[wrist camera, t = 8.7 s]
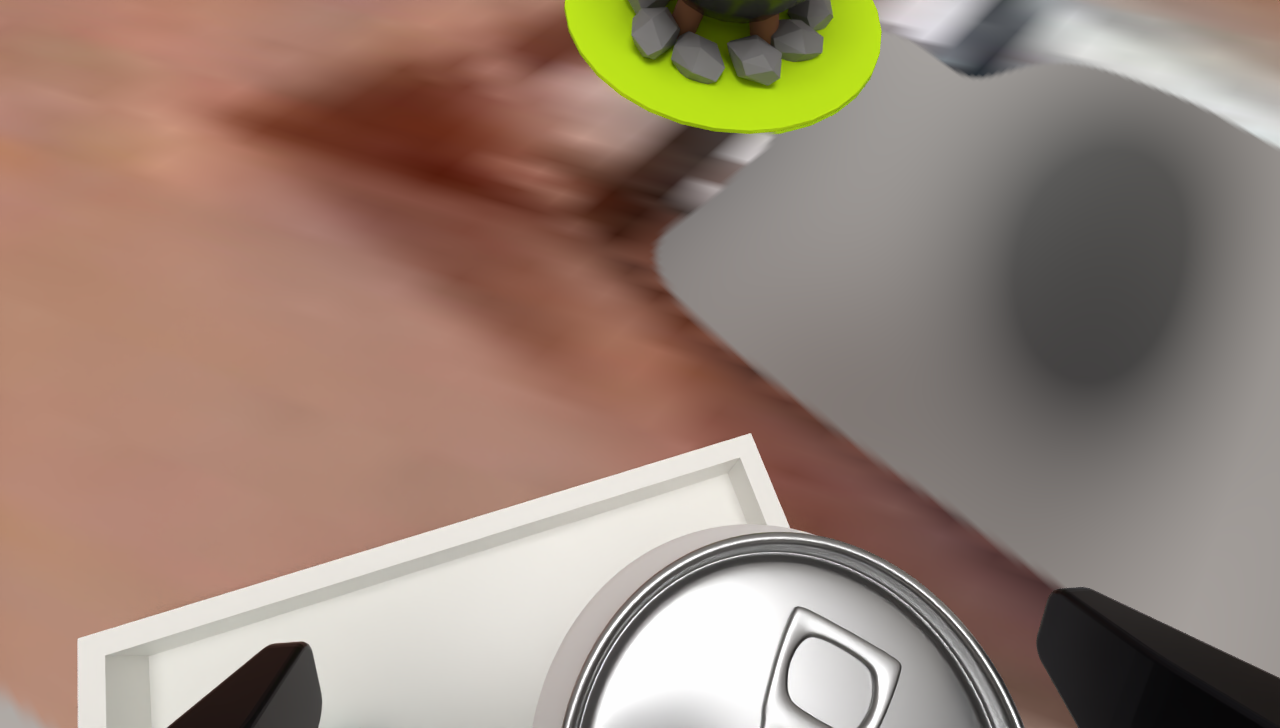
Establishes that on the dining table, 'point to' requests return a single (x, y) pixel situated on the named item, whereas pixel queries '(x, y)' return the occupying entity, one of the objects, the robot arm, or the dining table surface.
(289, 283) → the dining table surface
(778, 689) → the can
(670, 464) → the long tray
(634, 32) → the toy cauldron
